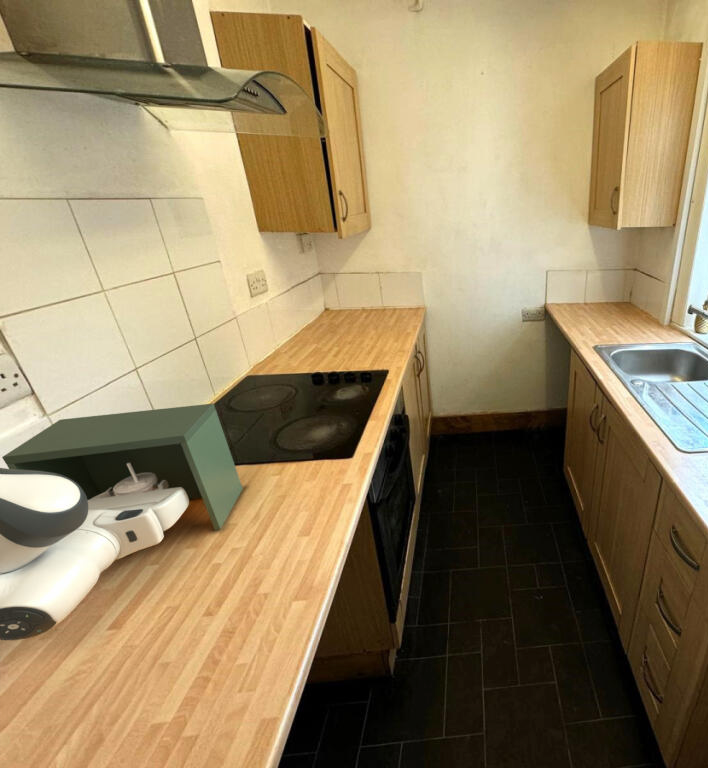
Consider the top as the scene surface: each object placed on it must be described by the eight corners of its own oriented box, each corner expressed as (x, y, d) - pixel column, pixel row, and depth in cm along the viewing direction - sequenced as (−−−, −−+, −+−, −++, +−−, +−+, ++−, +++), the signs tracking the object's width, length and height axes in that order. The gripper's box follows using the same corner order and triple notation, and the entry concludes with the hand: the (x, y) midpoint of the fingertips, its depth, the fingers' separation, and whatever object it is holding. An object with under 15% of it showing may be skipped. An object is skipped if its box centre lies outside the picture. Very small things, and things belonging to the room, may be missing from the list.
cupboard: (62, 555, 76) (1, 457, 67) (106, 508, 88) (60, 419, 79) (220, 529, 82) (184, 435, 73) (242, 488, 93) (213, 403, 84)
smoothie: (152, 535, 79) (122, 474, 73) (123, 531, 80) (92, 471, 74) (181, 512, 85) (156, 454, 79) (154, 509, 86) (128, 451, 80)
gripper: (25, 565, 67) (83, 508, 79) (171, 541, 71) (205, 490, 83) (5, 535, 64) (68, 481, 76) (157, 512, 68) (194, 464, 81)
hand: (140, 486), depth 80 cm, fingers closed on smoothie, 6 cm apart
